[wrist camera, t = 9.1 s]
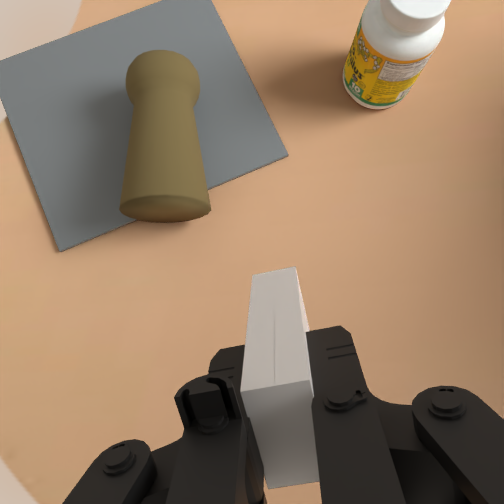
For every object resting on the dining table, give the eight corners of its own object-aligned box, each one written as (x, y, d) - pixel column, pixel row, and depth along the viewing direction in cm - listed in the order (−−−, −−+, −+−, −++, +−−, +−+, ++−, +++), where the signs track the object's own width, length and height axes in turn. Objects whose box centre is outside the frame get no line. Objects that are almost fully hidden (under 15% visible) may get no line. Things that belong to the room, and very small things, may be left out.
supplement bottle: (411, 111, 37) (469, 29, 28) (342, 111, 37) (377, 29, 28) (405, 49, 38) (459, -50, 29) (339, 49, 38) (371, -50, 29)
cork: (98, 206, 30) (100, 53, 33) (156, 227, 36) (154, 94, 38) (177, 187, 28) (173, 23, 30) (227, 212, 33) (220, 71, 36)
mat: (203, -13, 39) (203, -16, 39) (288, 156, 36) (288, 154, 36) (-11, 67, 37) (-13, 65, 37) (60, 252, 34) (59, 251, 34)
